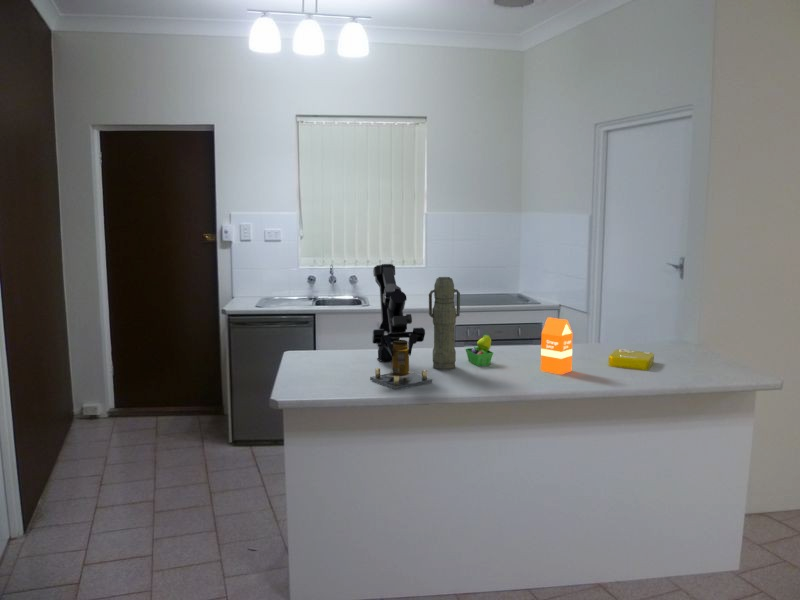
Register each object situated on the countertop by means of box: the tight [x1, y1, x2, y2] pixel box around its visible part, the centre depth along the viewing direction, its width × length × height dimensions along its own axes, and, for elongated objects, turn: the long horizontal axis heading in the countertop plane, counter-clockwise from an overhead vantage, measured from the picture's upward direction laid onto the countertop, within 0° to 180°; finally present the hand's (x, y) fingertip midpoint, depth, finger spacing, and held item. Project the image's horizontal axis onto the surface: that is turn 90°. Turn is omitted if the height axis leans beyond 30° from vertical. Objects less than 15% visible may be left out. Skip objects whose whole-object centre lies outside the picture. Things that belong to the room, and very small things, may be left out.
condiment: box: [387, 339, 413, 378], centre depth 241 cm, size 7×8×12 cm
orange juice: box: [540, 317, 574, 376], centre depth 254 cm, size 8×9×20 cm
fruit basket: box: [464, 334, 494, 367], centre depth 267 cm, size 11×9×11 cm
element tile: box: [607, 348, 655, 371], centre depth 264 cm, size 15×15×5 cm
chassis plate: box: [369, 367, 433, 391], centre depth 241 cm, size 16×16×4 cm
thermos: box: [428, 276, 461, 371], centre depth 259 cm, size 9×12×35 cm
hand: (401, 355), depth 239 cm, fingers closed on condiment, 6 cm apart
